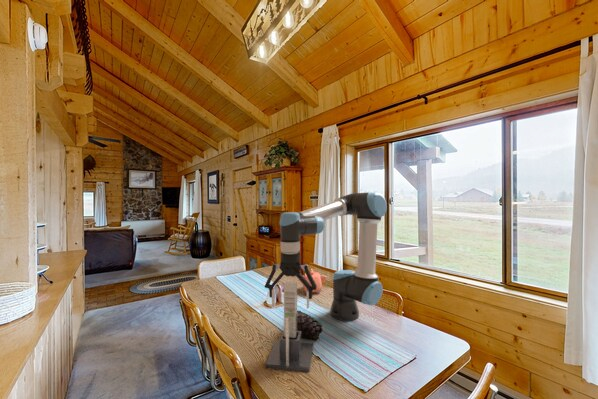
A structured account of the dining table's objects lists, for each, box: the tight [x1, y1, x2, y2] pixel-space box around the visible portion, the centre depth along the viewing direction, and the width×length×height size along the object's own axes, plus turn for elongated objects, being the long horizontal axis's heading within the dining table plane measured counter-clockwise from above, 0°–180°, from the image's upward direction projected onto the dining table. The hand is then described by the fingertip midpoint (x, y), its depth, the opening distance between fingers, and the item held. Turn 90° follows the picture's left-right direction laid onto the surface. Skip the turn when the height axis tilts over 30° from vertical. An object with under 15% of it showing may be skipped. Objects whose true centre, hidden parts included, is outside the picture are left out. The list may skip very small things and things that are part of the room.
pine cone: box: [297, 309, 323, 342], centre depth 122 cm, size 10×18×10 cm, turn 64°
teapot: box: [297, 268, 328, 295], centre depth 178 cm, size 17×16×13 cm
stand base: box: [265, 316, 314, 372], centre depth 105 cm, size 16×16×19 cm
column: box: [283, 281, 298, 338], centre depth 104 cm, size 4×5×20 cm
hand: (290, 306), depth 105 cm, fingers open, 13 cm apart
